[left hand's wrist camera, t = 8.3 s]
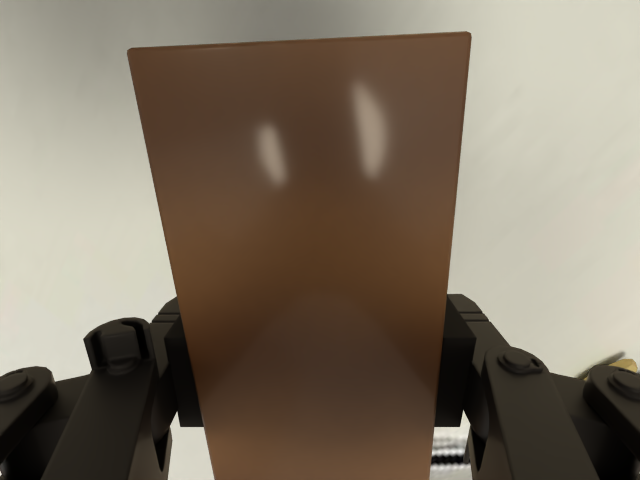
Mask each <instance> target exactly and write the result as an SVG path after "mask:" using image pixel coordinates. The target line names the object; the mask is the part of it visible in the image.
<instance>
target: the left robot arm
mask: <svg viewBox="0 0 640 480" xmlns="http://www.w3.org/2000/svg"><path fill="white" fill-rule="evenodd" d="M83 340H84V343H85V347H86V350H87V354H88V357H89V361H90V364H91V368H92V371H91V373H90V374H88V375H85V376H80V377H75V378H71V379H66V380H61V381H56V382H55V381H54V378H53V375H52V372H51V371H50V370H49V369H47V368H46V367H38V366H34V367H27V368H22V369H18V370H16V371H12V372H9V373H6V374H5V375H3V376H1V377H0V471H1V473H2V475H1V476H0V480H168V472H169V464H170V455H171V447H172V435H171V429H170V425H171V423H172V421H173V418H174V416H175V414H176V412H178V417H179V422H180V427H204V425H203V420H202V415H201V411H200V406H199V401H198V396H197V391H196V386H195V381H194V377H193V372H192V367H191V362H190V357H189V352H188V347H187V343H186V338H185V333H184V328H183V323H182V318H181V313H180V309H179V304H178V299H177V297H175V298H174V299H172V300H170V301H169V302H167V303H166V304H165V305H164V306H163V308H162V309H161V310H160V311H159V313H158V315H156V316H155V318H154V319H153V320H152V323H150V324H149V323H148V322H147V321H146V320H144V319H141V318H136V317H132V318H121V319H117V320H113V321H110V322H107V323H105V324H102V325H100V326H98V327H97V328H95V329H94V330H92V331H90V332H89V333H88V334H87V335H86V337H85V338H84V339H83ZM463 410H464V412H465V414H466V416H467V418H468V420H469V422H470V429H469V434H468V439H467V444H466V449H465V454H464V461H463V463H467V464H468V461H469V457H470V463H471V471H472V479H473V480H640V474H639V472H640V375H639V374H637V373H636V372H634V371H631V370H628V369H625V368H621V367H617V366H610V365H598V366H594V367H593V368H592V369H590V370H589V373H588V376H587V379H586V380H582V379H577V378H572V377H567V376H563V375H558V374H554V373H550V372H549V370H548V368H547V367H546V366H545V365H544V363H543V362H542V361H541V360H540V359H538V358H537V357H535V356H534V355H533V354H531V353H528V352H526V351H524V350H522V349H519V348H515V347H511V346H510V345H509V344H508V343H507V341H506V340H505V339H504V338H503V336H502V335H501V334H500V333H499V332H498V330H497V329H496V328H495V327H494V325H493V324H492V323H491V322H489V319H488V318H487V317H486V316H485V314H483V313H482V311H481V309H480V308H479V307H478V306H477V305H476V303H475V302H473V301H472V300H470V299H469V298H467V297H466V296H464V295H462V294H447V299H446V309H445V320H444V330H443V341H442V351H441V362H440V372H439V382H438V393H437V403H436V414H435V424H434V427H460V424H461V419H462V413H463Z"/></svg>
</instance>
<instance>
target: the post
mask: <svg viewBox="0 0 640 480" xmlns="http://www.w3.org/2000/svg"><path fill="white" fill-rule="evenodd" d="M471 38H472V37H471V33H469V32H467V31H463V32H443V33H423V34H402V35H382V36H362V37H342V38H321V39H301V40H281V41H260V42H240V43H220V44H199V45H179V46H159V47H139V48H131V49H129V50H127V56H128V61H129V66H130V71H131V76H132V80H133V85H134V90H135V95H136V100H137V105H138V110H139V114H140V119H141V124H142V129H143V134H144V139H145V144H146V148H147V153H148V158H149V163H150V168H151V173H152V178H153V182H154V187H155V192H156V197H157V202H158V207H159V212H160V216H161V221H162V226H163V231H164V236H165V241H166V246H167V250H168V255H169V260H170V265H171V270H172V275H173V280H174V284H175V289H176V294H177V299H178V304H179V309H180V313H181V318H182V323H183V328H184V333H185V338H186V343H187V347H188V352H189V357H190V362H191V367H192V372H193V377H194V381H195V386H196V391H197V396H198V401H199V406H200V411H201V415H202V420H203V425H204V430H205V435H206V440H207V445H208V449H209V454H210V459H211V464H212V469H213V474H214V479H215V480H429V476H430V466H431V455H432V445H433V435H434V424H435V414H436V403H437V393H438V382H439V372H440V362H441V351H442V341H443V330H444V320H445V309H446V299H447V289H448V278H449V268H450V257H451V247H452V236H453V226H454V216H455V205H456V195H457V184H458V174H459V163H460V153H461V143H462V132H463V122H464V111H465V101H466V90H467V80H468V70H469V59H470V49H471Z"/></svg>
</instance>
